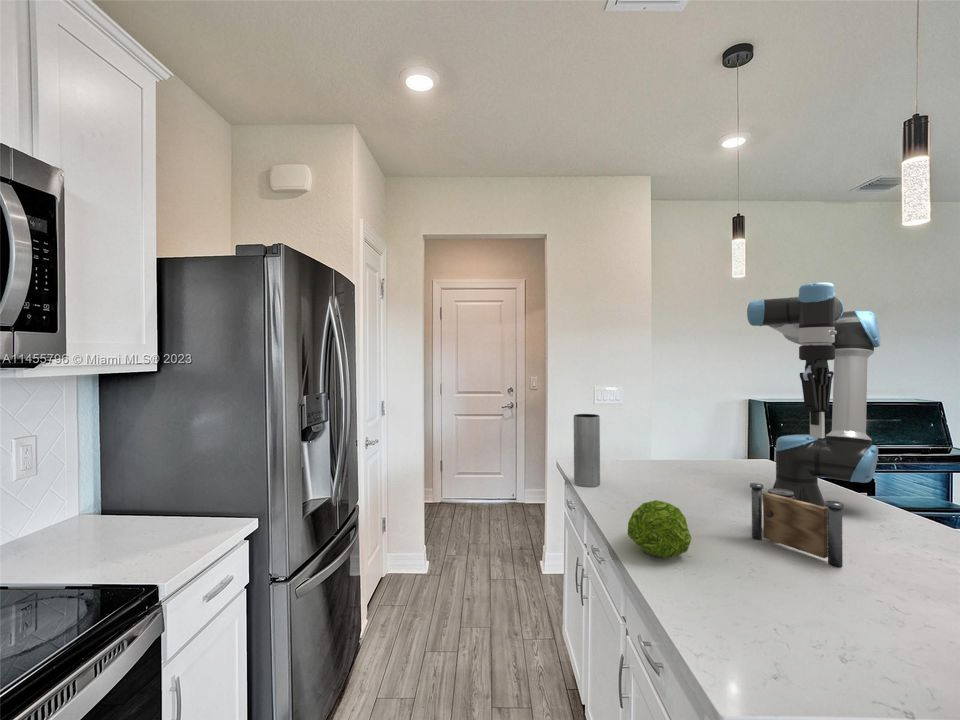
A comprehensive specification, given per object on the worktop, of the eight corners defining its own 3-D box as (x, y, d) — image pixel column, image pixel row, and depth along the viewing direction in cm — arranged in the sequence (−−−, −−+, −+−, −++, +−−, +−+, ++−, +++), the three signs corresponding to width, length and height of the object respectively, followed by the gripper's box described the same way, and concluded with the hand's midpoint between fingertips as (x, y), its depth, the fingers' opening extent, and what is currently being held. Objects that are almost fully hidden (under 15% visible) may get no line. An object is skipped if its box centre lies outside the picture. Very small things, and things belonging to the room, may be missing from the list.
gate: (828, 556, 117) (827, 507, 117) (821, 559, 116) (821, 509, 116) (767, 536, 131) (767, 492, 130) (760, 538, 129) (760, 493, 129)
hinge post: (830, 560, 117) (830, 500, 117) (847, 566, 114) (847, 504, 114) (822, 563, 116) (822, 502, 116) (839, 569, 113) (839, 506, 112)
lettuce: (696, 540, 134) (685, 489, 137) (694, 562, 112) (681, 501, 115) (641, 543, 140) (632, 494, 143) (629, 564, 118) (618, 507, 121)
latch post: (754, 535, 134) (754, 482, 134) (766, 539, 131) (765, 485, 131) (747, 537, 133) (747, 483, 133) (758, 541, 130) (758, 486, 130)
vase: (602, 487, 185) (602, 416, 185) (576, 487, 185) (576, 417, 185) (596, 480, 195) (596, 413, 195) (572, 480, 195) (571, 413, 195)
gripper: (821, 344, 116) (821, 442, 116) (845, 344, 123) (845, 436, 123) (787, 345, 122) (788, 438, 122) (812, 344, 129) (812, 433, 129)
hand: (817, 437), depth 123 cm, fingers closed
